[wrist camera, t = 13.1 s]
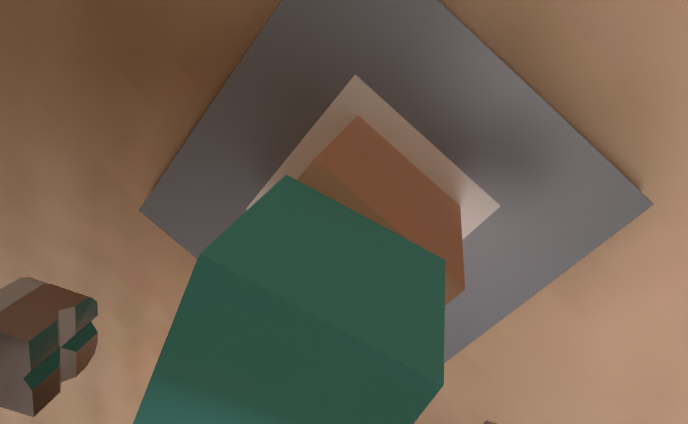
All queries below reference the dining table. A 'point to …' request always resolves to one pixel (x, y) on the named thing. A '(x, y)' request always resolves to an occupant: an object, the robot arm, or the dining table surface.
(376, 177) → the terracotta block
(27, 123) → the dining table surface
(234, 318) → the teal block
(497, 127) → the baseplate
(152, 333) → the dining table surface
